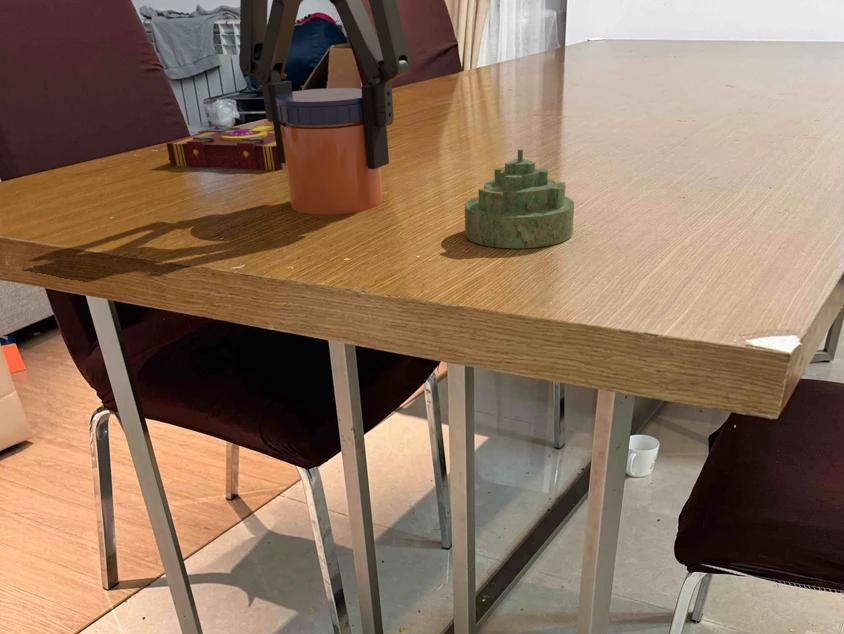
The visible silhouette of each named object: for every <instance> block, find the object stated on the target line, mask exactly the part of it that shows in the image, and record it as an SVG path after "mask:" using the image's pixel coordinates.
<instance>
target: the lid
mask: <svg viewBox="0 0 844 634" xmlns="http://www.w3.org/2000/svg"><path fill="white" fill-rule="evenodd" d="M275 100H276V112H277V119H278V120H279V121H280V122H282V123H287V124H294V125H333V124H345V123H353V122H360V121H364V115H363V103H362V91H361V88H358V87H357V88H355V87H329V88H312V89H302V90H295V91H294V90H293V91H292V92H288V93H284V94H280V95H278V96H276V97H275Z"/></svg>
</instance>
